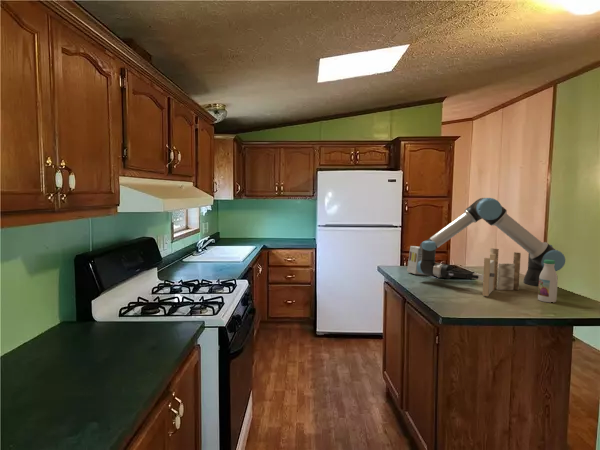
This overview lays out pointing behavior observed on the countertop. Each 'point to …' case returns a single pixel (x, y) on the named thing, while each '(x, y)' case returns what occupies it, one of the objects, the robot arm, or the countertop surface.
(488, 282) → the gate
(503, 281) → the gate post and fence
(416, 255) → the supplement box
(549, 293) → the milk bottle
